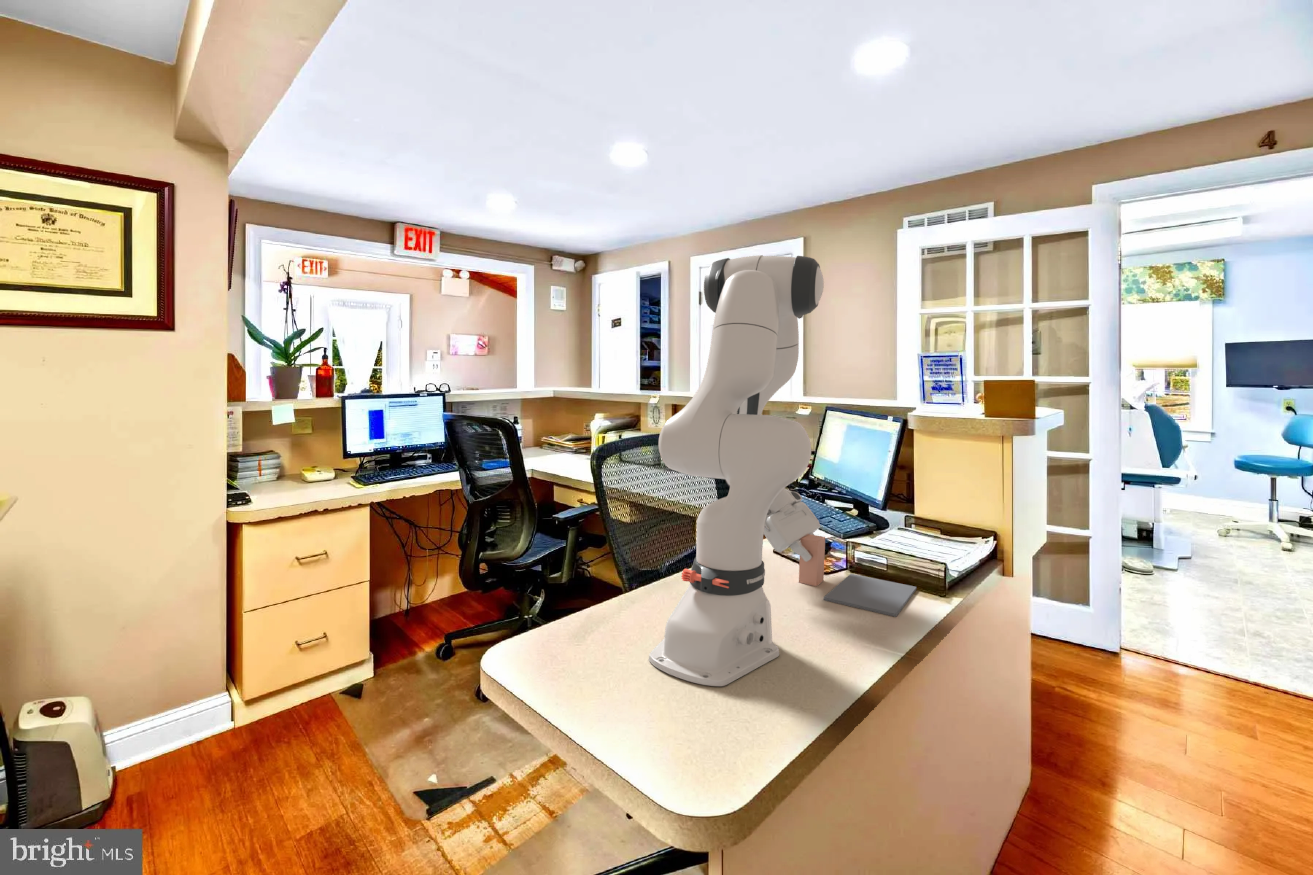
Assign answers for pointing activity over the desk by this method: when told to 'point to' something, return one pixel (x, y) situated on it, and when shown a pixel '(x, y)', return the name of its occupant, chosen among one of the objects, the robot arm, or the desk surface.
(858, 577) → the mat
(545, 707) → the desk surface
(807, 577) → the block
